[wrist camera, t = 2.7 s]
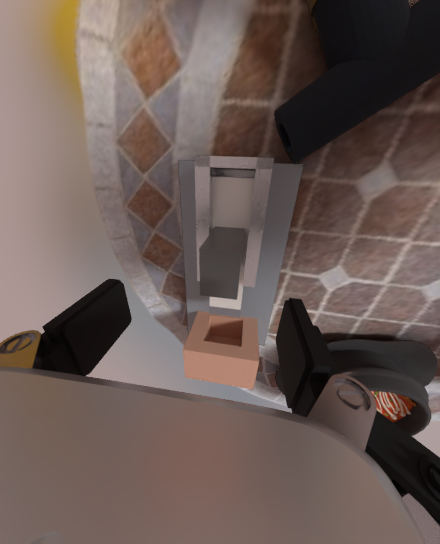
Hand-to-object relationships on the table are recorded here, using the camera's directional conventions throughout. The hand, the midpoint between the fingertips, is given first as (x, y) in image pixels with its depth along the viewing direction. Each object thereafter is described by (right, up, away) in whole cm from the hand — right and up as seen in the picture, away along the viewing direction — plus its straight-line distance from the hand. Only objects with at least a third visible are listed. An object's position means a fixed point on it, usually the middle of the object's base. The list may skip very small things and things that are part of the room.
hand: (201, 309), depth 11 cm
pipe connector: (+13, +22, +6) cm, 26 cm away
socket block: (+2, -8, +22) cm, 23 cm away
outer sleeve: (+3, +9, +13) cm, 16 cm away
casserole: (+24, -15, +24) cm, 37 cm away
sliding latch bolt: (+3, +5, +13) cm, 15 cm away
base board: (+3, +3, +17) cm, 18 cm away
